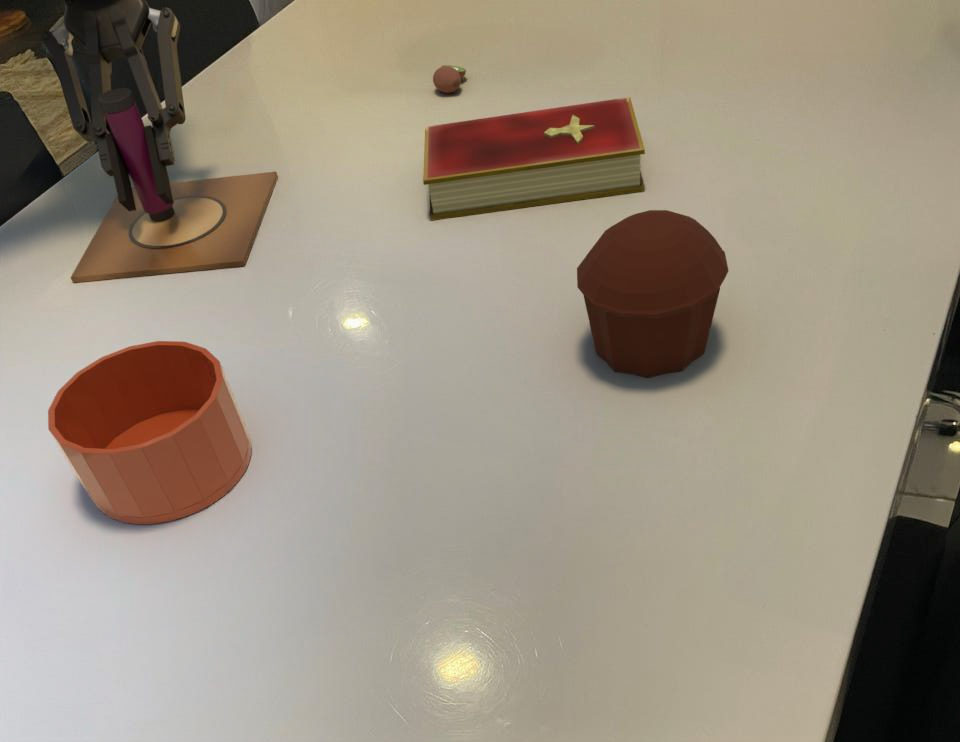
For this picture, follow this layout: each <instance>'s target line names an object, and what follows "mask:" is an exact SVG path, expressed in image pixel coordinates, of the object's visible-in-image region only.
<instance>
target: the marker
mask: <svg viewBox="0 0 960 742" xmlns="http://www.w3.org/2000/svg"><path fill="white" fill-rule="evenodd" d="M98 100H99V103H100V105H101V108H102V110H103V113H104V115H105V117H106V120H107V122H108V125H109V127H110V129H111V132H112V134H113V137H114V139H115V141H116V144H117V146H118V149H119V151H120V154H121V156H122V158H123V161H124V163H125V166H126V168H127V170H128V173H129V178H130V181H131V183H132V185H133V187H135V190H136V192H137V195H138V197H139V199H140V202H141V204H142V207H143V209H144V211H145V212H146V213H148V214H149V216H150V218H151V220H152V221H155V222H160V221H165V220H167V219H169V218H171V217H172V216H173V215H174V213H175V211H174V209H173V204H174V203H171V204H166V203H165V202H164V201H163V200H162V199H161V198H160V197H159V196H158V195H157V190H156V185H155V181H154V176H153V171H152V166H151V161H150V156H149V152H148V147H147V142H146V137H145V132H144V127H145V123H144V121H143V118H142V116H141V113H140V110H139V108H138V105H137V102H136V100H135V98H134V95H133V93H132V90H131V89H130V88H127V87H117V88H114V89H111V90H110V91H107V92H105V93H103V94H102V95H101V96H100V97H99V99H98ZM173 202H174V201H173Z"/></svg>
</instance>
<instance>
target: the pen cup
mask: <svg viewBox="0 0 960 742" xmlns="http://www.w3.org/2000/svg"><path fill="white" fill-rule="evenodd" d="M47 415H48V416H47V427H48V428H47V429H48V431H49V433H50V435H51V436H52V438H53V439H54V441H55V443H56V444H57V446H58V447H59V449H60V451H61V452H62V454H63V456H64V457H65V459H66V461H67V462H68V464H69V466H70V468H71V469H72V470H73V472H74V474H75V476H76V477H77V479H78V480H79V482H80V484H81V485H82V487H83V489H84V490H85V492H86V494H87V495H88V496H89V497H90V499H91V501H92V502H93V504H94V505H95V507H96V508H97V509H98V510H99V511H100V512H101V513H102V514H104V515H105V516H107V517H109V518H111V519H113V520H115V521H118V522H121V523H126V524H130V525H131V524H132V525H155V524H163V523H168V522H173V521H176V520H179V519H183V518H186V517H188V516H191V515H193V514H196V513H199V512H200V511H202V510H205V509H206V508H207V507H210V506H211V505H213V504H215V503H216V502H217V501H219V500H220V499H221V498H223V497H224V496H225V495H227V494H228V493H229V492H230V491H231V490H232V489H233V488H235V486H236V485H237V483H238V482H239V481H240V480H241V478H242V477H243V476H244V474H245V472H246V470H247V469H248V466H249V463H250V461H251V456H252V443H251V438H250V436H249V434H248V429H247V426H246V423H245V421H244V418H243V416H242V414H241V411H240V409H239V406H238V404H237V400H236V398H235V395H234V393H233V392H232V389H231V386H230V383H229V381H228V379H227V376H226V374H225V371H224V368H223V366H222V364H221V362H220V360H219V359H218V358H217V357H216V356H215V355H214V354H213V353H211V351H209V350H208V349H207V348H205V347H203V346H200V345H196V344H193V343H190V342H187V341H177V340H176V341H175V340H174V341H173V340H172V341H171V340H156V341H152V342H151V341H150V342H146V343H145V342H144V343H141V344H136V345H129V346H127V347H123V348H121V349H119V350H117V351H114V352H111V353H108V354H106V355H103V356H101V357H100V358H97V359H96V360H95V361H92V362H91V363H90V364H88V365H86V366H85V367H83V368H81V369H80V370H78V371H77V372H75V374H73V375H72V377H70V378H69V379H68V380H67V381H66V383H64V384H63V386H62V387H60V388H59V389H58V391H57V392H56V394H55V396H54V398H53V399H52V402H51V404H50V405H49V408H48V410H47Z"/></svg>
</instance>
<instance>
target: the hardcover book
mask: <svg viewBox="0 0 960 742" xmlns="http://www.w3.org/2000/svg"><path fill="white" fill-rule="evenodd" d="M423 146H424V147H423V148H424V150H423V152H424V153H423V173H422V175H423V177H422V181H423V186H427V185H428V190H429V221H435V220H436V221H437V220H442V219H443V220H444V219H449V218H450V219H451V218H457V217H464V216H465V217H466V216H471V215H472V216H473V215H480V214H486V213H493V212H501V211H507V210H509V211H510V210H515V209H523V208H531V207H538V206H544V205H553V204H560V203H567V202H573V201H575V202H576V201H581V200H588V199H596V198H603V197H612V196H618V195H619V196H620V195H623V194H624V195H627V194H632V193H640V192H645V191H646V190H645V189H646V187H645V183H644V178H643V176H642V172H641V171H642V170H641V155H645V154H646V150H645V145H644V142H643V138H642V135H641V131H640V128H639V124H638V120H637V117H636V113H635V109H634V106H633V102H632V99H631V96H628V97H621V98H613V99H607V100H600V101H593V102H586V103H580V104H573V105H566V106H565V105H564V106H559V107H553V108H546V109H539V110H538V109H537V110H531V111H525V112H517V113H511V114H504V115H497V116H491V117H489V116H488V117H483V118H476V119H469V120H461V121H457V122H449V123H442V124H441V123H440V124H435V125H429V126H425V127H424V145H423Z"/></svg>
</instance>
